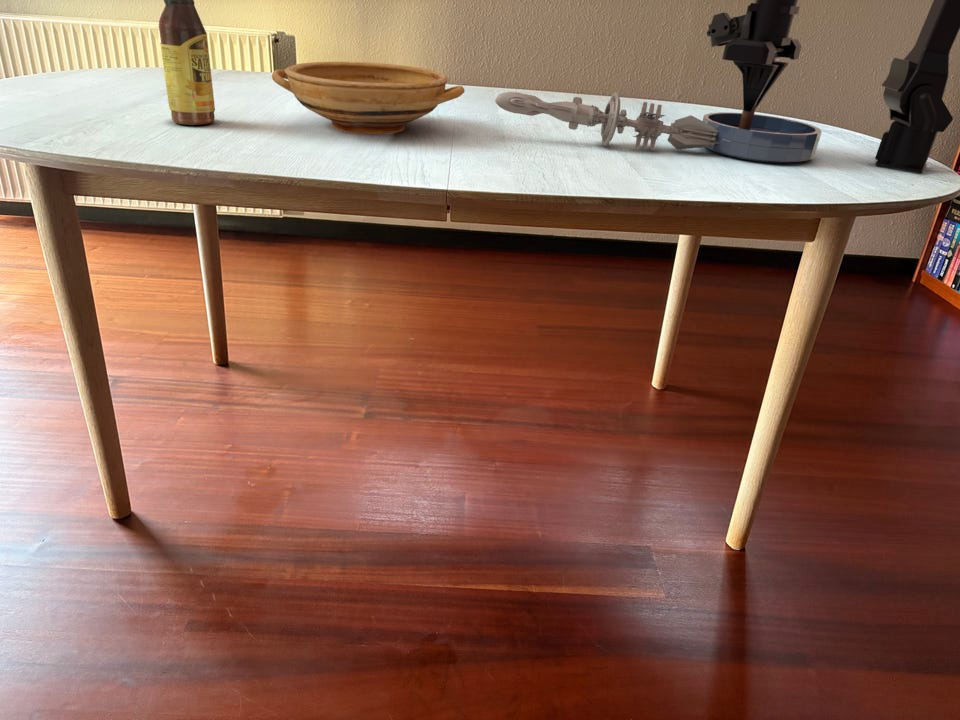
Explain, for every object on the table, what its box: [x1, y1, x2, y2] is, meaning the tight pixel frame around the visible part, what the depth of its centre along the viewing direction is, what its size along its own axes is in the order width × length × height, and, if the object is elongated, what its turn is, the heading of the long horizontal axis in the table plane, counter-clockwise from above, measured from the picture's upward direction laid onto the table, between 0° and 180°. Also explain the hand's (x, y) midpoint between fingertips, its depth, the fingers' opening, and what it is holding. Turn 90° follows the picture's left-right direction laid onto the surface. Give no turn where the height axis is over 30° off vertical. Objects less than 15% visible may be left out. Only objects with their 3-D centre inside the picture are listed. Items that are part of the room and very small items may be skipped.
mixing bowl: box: [702, 111, 823, 164], centre depth 108 cm, size 18×18×4 cm
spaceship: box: [494, 91, 720, 152], centre depth 104 cm, size 8×35×8 cm
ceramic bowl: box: [271, 61, 465, 135], centre depth 104 cm, size 30×24×8 cm
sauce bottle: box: [158, 0, 216, 126], centre depth 96 cm, size 7×6×20 cm
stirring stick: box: [739, 103, 757, 130], centre depth 106 cm, size 4×4×12 cm
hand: (749, 110), depth 106 cm, fingers closed on stirring stick, 2 cm apart
